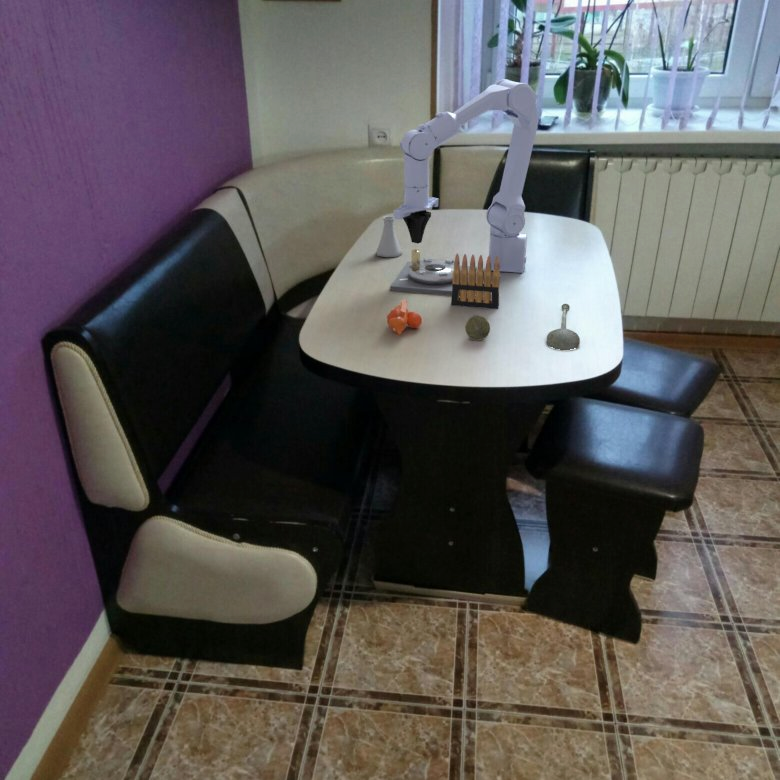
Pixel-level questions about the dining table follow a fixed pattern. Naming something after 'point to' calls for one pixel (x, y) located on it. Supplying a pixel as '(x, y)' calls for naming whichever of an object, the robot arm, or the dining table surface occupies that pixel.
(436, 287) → the cap plate
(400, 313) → the orange toy bird
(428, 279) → the crank wheel with handle
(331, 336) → the dining table surface
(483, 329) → the lime
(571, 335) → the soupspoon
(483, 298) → the ammunition clip
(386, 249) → the flask
